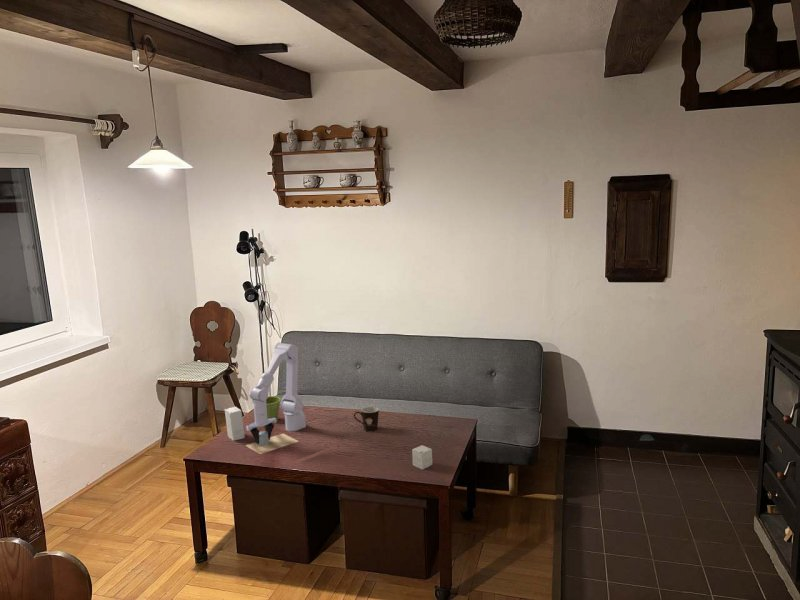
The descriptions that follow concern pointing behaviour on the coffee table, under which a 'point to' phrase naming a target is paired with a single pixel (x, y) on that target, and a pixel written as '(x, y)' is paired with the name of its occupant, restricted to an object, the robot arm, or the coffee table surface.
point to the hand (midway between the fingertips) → (262, 441)
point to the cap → (263, 438)
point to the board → (272, 443)
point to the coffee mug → (369, 418)
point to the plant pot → (272, 407)
